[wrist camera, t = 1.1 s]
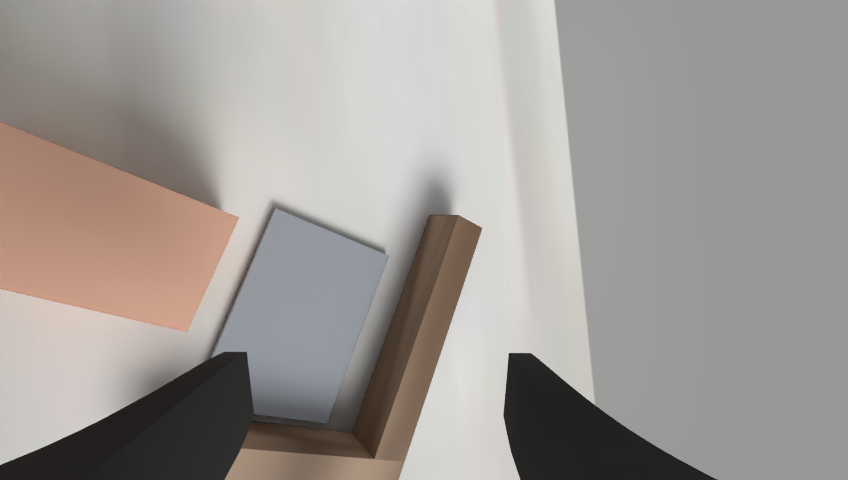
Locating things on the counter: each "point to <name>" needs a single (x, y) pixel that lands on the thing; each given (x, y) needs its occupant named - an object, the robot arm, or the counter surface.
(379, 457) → the brown l-shaped piece
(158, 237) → the block
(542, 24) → the counter surface
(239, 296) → the mat
